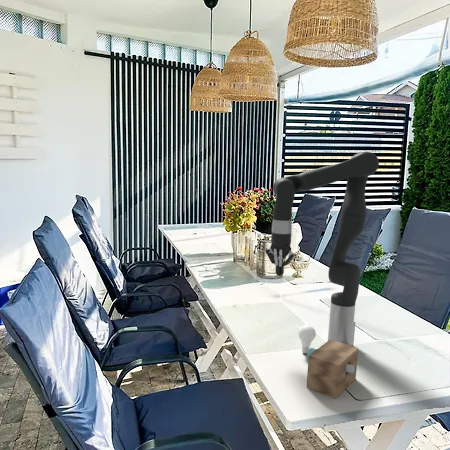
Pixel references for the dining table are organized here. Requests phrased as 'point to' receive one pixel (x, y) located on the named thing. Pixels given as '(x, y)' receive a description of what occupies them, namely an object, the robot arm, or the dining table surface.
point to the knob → (348, 367)
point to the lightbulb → (306, 337)
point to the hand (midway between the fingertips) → (279, 275)
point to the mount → (331, 368)
